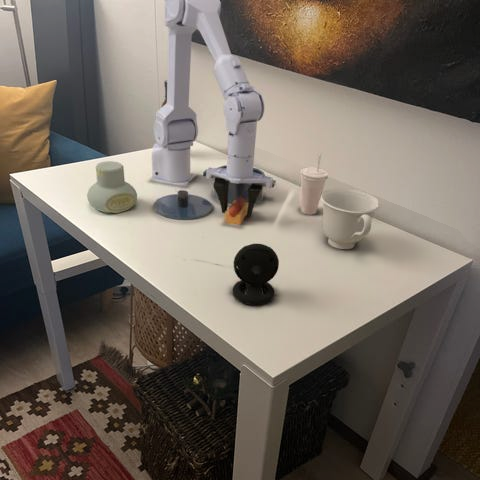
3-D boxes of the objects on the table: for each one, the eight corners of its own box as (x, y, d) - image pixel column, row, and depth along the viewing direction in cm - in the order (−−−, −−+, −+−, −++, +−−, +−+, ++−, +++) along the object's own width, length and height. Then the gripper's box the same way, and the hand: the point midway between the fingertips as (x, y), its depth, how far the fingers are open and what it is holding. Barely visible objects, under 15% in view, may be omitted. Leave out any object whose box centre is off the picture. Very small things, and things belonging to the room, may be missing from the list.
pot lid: (201, 226, 110) (201, 208, 107) (144, 216, 112) (143, 198, 110) (218, 203, 120) (219, 186, 118) (166, 194, 123) (166, 177, 120)
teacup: (332, 266, 99) (342, 220, 94) (305, 232, 111) (311, 189, 105) (386, 261, 103) (398, 216, 97) (354, 228, 114) (363, 186, 108)
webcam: (272, 283, 93) (278, 235, 87) (276, 307, 87) (283, 256, 81) (231, 282, 92) (234, 233, 86) (232, 305, 86) (235, 254, 80)
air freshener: (98, 220, 109) (93, 175, 103) (83, 206, 114) (77, 163, 108) (143, 210, 115) (141, 167, 109) (127, 197, 120) (124, 156, 114)
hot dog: (238, 228, 110) (240, 211, 108) (224, 225, 111) (225, 209, 109) (248, 213, 117) (249, 197, 115) (234, 210, 118) (235, 195, 115)
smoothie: (323, 217, 118) (333, 158, 109) (296, 216, 118) (304, 156, 109) (320, 206, 123) (329, 149, 115) (294, 204, 123) (302, 147, 114)
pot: (267, 212, 118) (270, 188, 114) (196, 200, 121) (196, 176, 117) (277, 193, 128) (280, 170, 124) (211, 182, 131) (212, 160, 127)
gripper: (202, 154, 103) (200, 214, 111) (270, 164, 101) (264, 226, 109) (212, 144, 109) (210, 203, 117) (277, 154, 106) (270, 213, 114)
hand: (236, 213), depth 113 cm, fingers open, 5 cm apart
